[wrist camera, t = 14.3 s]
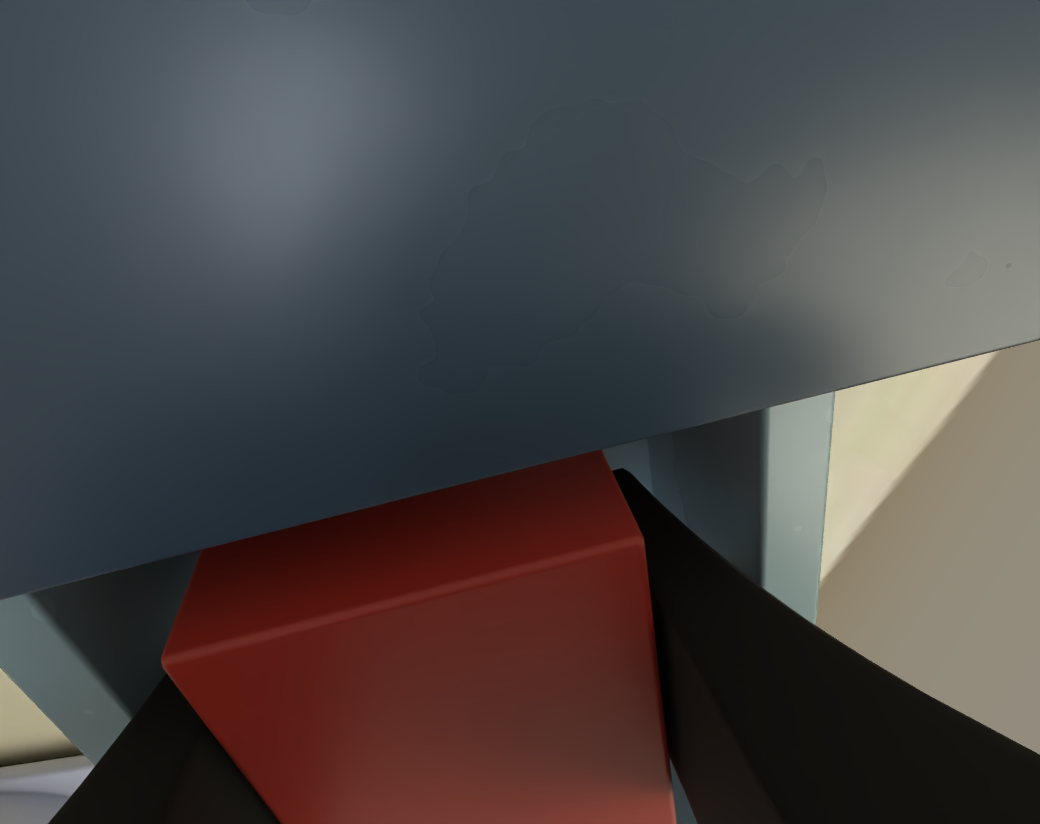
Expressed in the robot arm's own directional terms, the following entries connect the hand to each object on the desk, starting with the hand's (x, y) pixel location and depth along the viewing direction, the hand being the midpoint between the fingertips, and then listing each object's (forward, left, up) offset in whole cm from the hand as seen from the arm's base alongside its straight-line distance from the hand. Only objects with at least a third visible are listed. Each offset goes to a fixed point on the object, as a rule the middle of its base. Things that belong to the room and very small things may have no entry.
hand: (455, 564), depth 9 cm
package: (0, 0, -1) cm, 1 cm away
